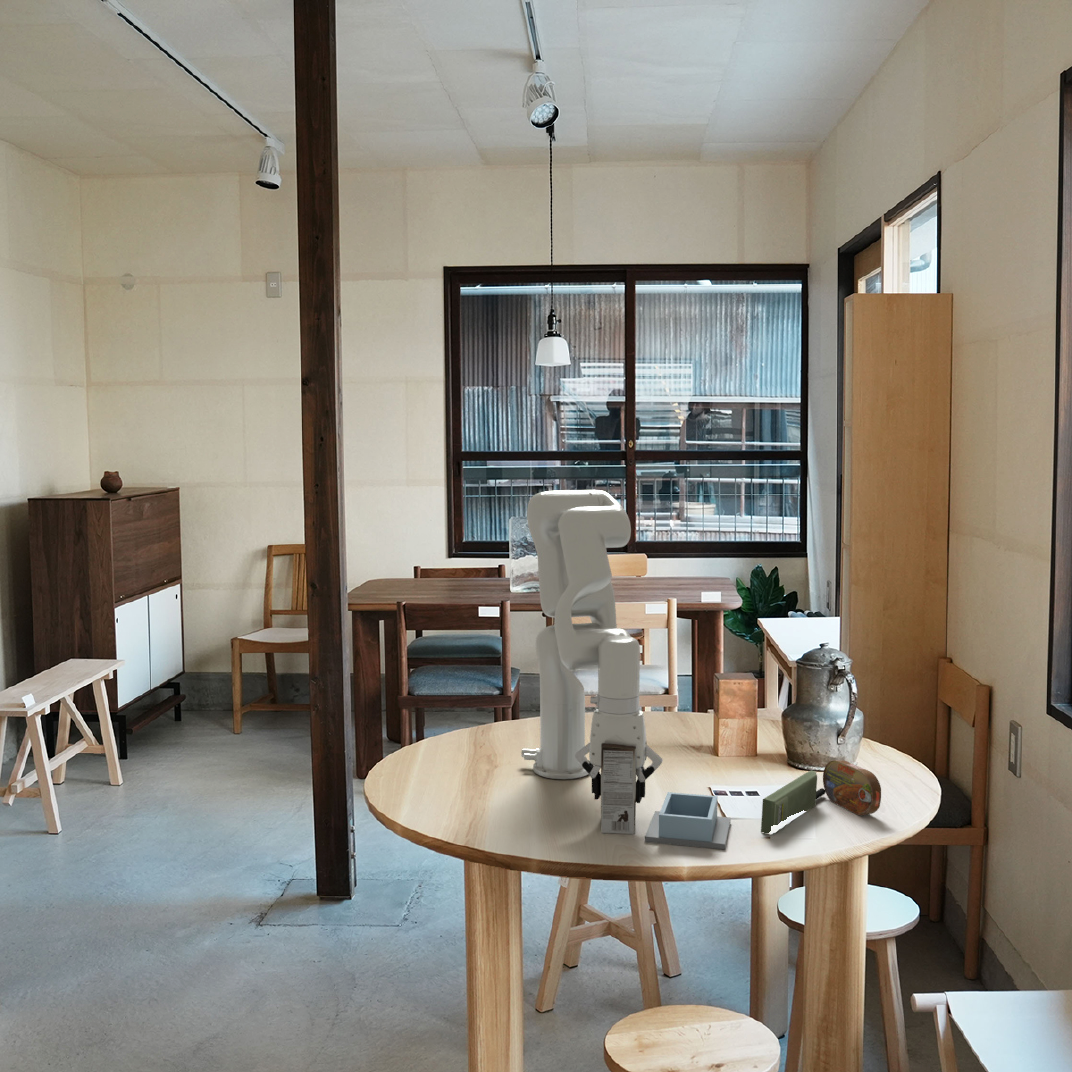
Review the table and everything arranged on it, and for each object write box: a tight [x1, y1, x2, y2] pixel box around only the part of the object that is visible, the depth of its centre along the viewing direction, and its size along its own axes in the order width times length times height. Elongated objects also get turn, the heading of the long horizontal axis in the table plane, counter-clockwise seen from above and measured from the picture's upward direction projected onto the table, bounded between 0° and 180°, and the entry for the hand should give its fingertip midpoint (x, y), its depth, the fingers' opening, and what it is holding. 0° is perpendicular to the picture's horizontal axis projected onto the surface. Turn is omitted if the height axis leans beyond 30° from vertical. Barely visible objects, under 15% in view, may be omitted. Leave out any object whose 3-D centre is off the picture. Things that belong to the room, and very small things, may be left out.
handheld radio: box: [760, 770, 826, 834], centre depth 198 cm, size 7×3×25 cm
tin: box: [822, 759, 882, 816], centre depth 201 cm, size 15×3×8 cm, turn 20°
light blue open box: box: [644, 791, 731, 851], centre depth 189 cm, size 14×13×5 cm
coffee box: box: [600, 743, 637, 835], centre depth 192 cm, size 9×6×16 cm
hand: (618, 798), depth 192 cm, fingers closed on coffee box, 7 cm apart
